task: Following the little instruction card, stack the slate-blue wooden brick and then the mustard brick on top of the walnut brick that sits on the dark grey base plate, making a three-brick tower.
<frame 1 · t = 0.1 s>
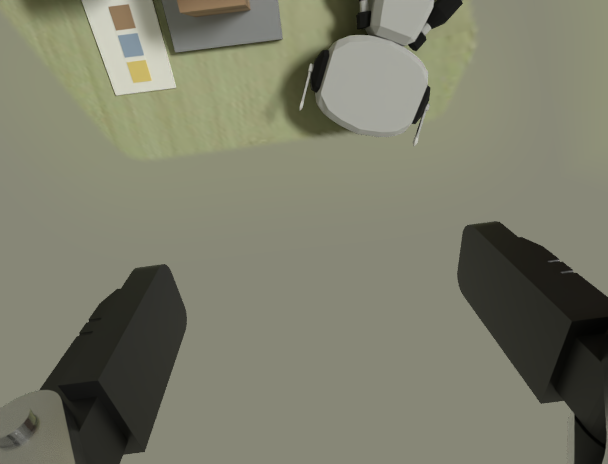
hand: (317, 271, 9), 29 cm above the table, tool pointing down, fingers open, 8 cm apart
robot toy: (376, 50, 33), on the table
instruction card: (131, 45, 31), on the table
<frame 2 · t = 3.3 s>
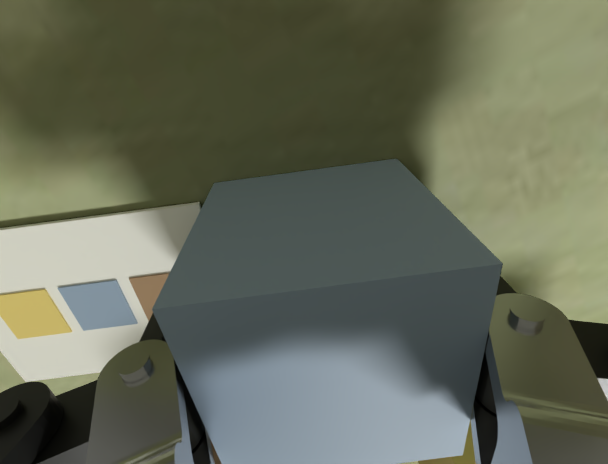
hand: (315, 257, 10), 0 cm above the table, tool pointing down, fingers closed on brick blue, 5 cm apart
brick mustard: (469, 400, 15), on the table
brick blue: (314, 248, 10), on the table, touching gripper
instruction card: (101, 302, 11), on the table
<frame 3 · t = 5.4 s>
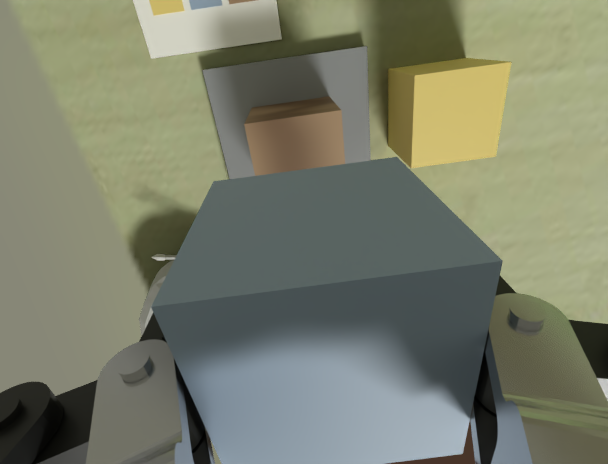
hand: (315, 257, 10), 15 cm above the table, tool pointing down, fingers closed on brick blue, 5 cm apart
base plate: (295, 138, 23), on the table
brick mustard: (424, 104, 23), on the table
robot toy: (240, 299, 31), on the table
brick blue: (314, 247, 10), point 15 cm above the table, touching gripper
brick walnut: (295, 140, 23), point 1 cm above the table, touching base plate
when the fingers open (7 cm above the table, at t = 7.7 s): brick blue stays where it is, resting on brick walnut.
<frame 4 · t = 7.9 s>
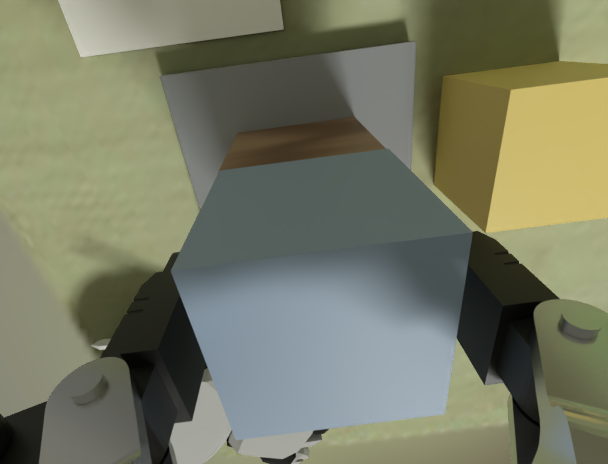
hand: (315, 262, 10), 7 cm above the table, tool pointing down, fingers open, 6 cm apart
base plate: (302, 174, 16), on the table
brick mustard: (490, 127, 16), on the table
robot toy: (226, 373, 23), on the table
brick blue: (312, 232, 11), point 6 cm above the table, touching brick walnut
brick walnut: (303, 180, 15), point 1 cm above the table, touching base plate, brick blue
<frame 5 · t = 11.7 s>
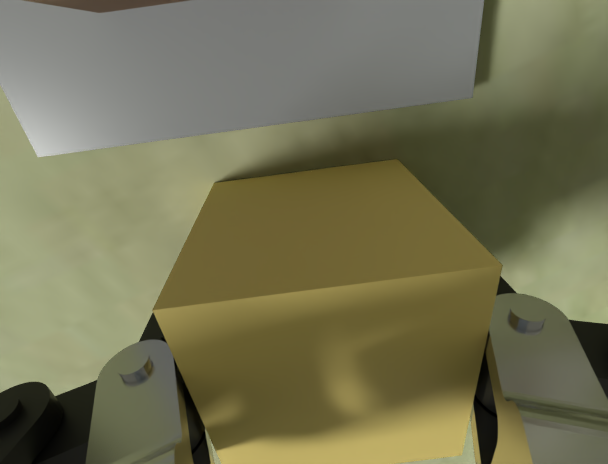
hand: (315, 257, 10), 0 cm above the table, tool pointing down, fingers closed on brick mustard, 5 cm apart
brick mustard: (314, 248, 10), on the table, touching gripper
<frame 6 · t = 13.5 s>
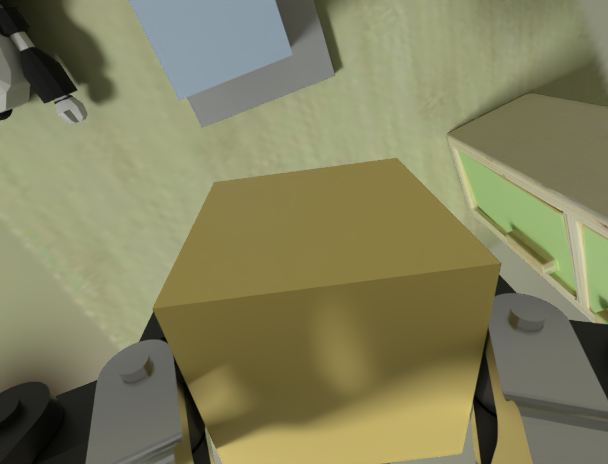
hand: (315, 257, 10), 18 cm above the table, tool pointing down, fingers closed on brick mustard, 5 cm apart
base plate: (237, 23, 22), on the table
brick mustard: (314, 247, 10), point 17 cm above the table, touching gripper
brick blue: (225, 17, 17), point 6 cm above the table, touching brick walnut
toy refrigerator: (489, 157, 28), on the table
when the fingers open (12 cm above the table, at t = 15.6 s): brick mustard stays where it is, resting on brick blue.
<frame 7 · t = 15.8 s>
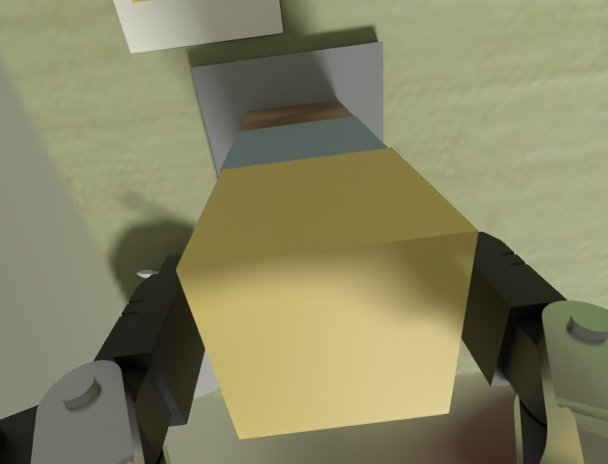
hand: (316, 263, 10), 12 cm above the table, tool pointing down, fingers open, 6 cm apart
base plate: (297, 146, 21), on the table
brick mustard: (315, 232, 11), point 11 cm above the table, touching brick blue
robot toy: (236, 318, 28), on the table
brick blue: (304, 179, 15), point 6 cm above the table, touching brick mustard, brick walnut
brick walnut: (298, 149, 20), point 1 cm above the table, touching base plate, brick blue
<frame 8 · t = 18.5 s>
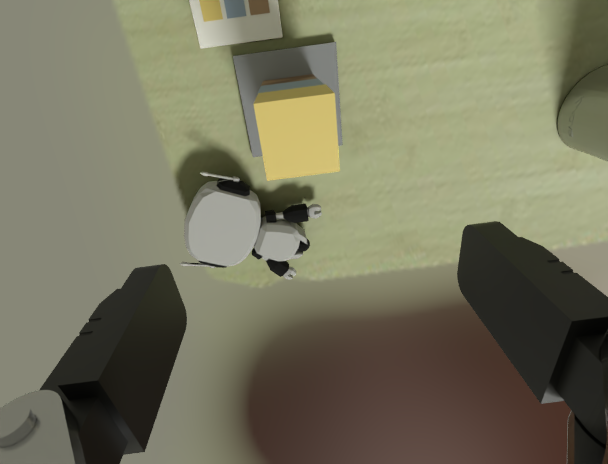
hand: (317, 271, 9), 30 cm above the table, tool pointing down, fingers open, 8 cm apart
base plate: (291, 102, 35), on the table
brick mustard: (296, 123, 26), point 11 cm above the table, touching brick blue
robot toy: (252, 221, 43), on the table
brick blue: (293, 112, 30), point 6 cm above the table, touching brick mustard, brick walnut
instruction card: (235, 5, 31), on the table
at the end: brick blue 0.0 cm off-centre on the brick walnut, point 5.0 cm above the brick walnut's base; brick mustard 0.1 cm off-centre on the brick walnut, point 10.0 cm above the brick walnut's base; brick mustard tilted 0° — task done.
